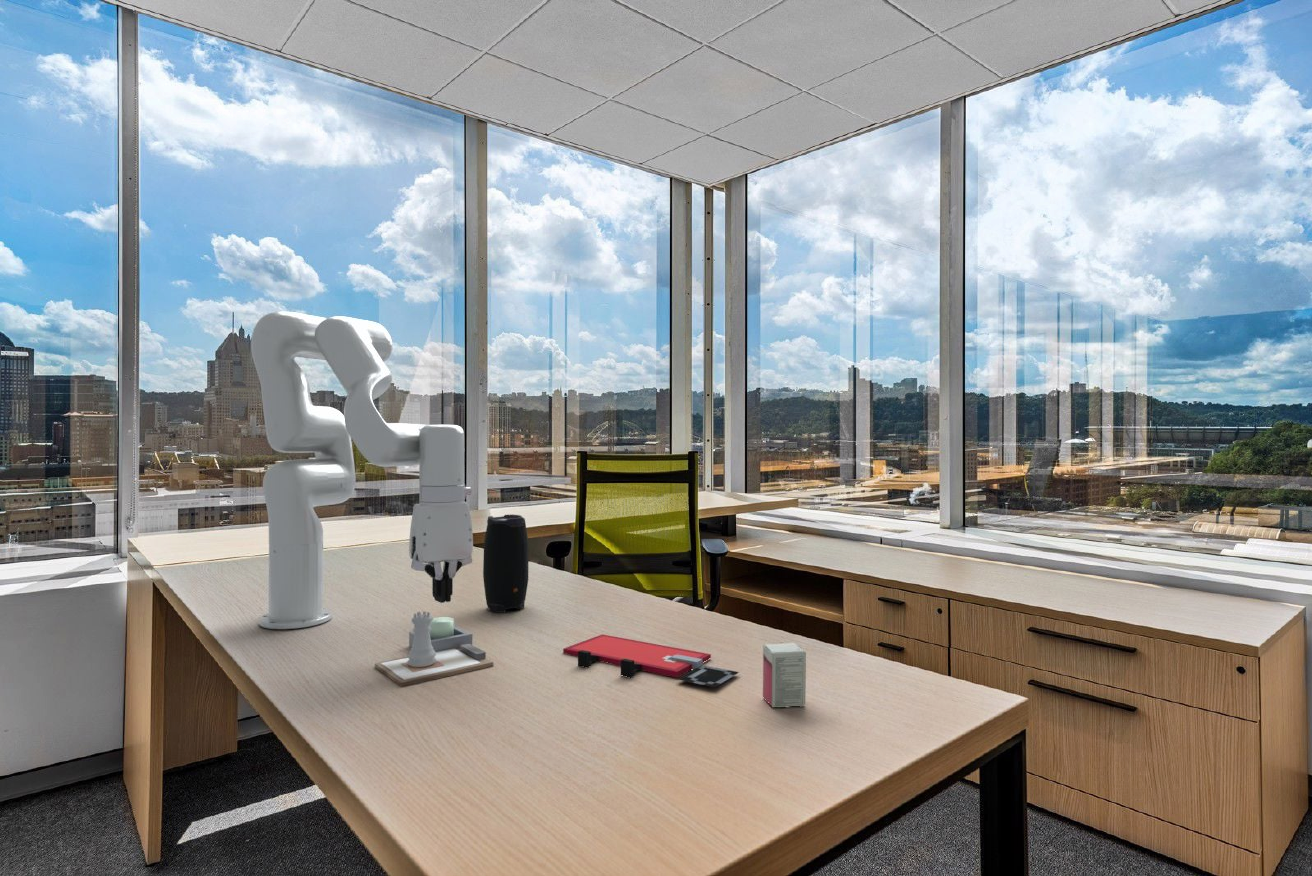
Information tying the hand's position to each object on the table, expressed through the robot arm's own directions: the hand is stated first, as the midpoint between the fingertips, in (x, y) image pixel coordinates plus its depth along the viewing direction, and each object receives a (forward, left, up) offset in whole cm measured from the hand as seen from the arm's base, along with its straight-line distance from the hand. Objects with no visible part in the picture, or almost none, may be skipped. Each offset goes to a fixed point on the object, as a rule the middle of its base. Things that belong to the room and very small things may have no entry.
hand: (442, 600), depth 125 cm
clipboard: (+9, -5, -8) cm, 13 cm away
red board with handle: (+29, +23, -9) cm, 38 cm away
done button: (0, 0, -7) cm, 7 cm away
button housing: (0, 0, -8) cm, 8 cm away
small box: (+54, +27, -8) cm, 61 cm away
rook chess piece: (+9, -7, -8) cm, 13 cm away
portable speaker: (-17, +22, -8) cm, 29 cm away
